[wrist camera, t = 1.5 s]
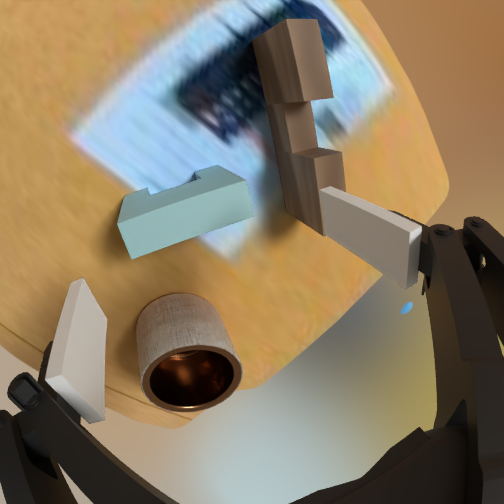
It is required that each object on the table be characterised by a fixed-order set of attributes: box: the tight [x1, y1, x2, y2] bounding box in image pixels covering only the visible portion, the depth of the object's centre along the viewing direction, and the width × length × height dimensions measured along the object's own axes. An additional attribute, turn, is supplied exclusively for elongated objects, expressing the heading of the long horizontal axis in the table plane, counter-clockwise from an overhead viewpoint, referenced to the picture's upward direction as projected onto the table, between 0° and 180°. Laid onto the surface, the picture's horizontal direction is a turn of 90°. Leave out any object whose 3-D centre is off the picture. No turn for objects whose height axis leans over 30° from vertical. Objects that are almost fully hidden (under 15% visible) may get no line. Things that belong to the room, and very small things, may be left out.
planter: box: [136, 293, 243, 412], centre depth 32 cm, size 11×11×10 cm
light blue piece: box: [117, 165, 254, 259], centre depth 25 cm, size 10×3×9 cm, turn 101°
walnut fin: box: [252, 19, 346, 236], centre depth 27 cm, size 3×20×8 cm, turn 11°
